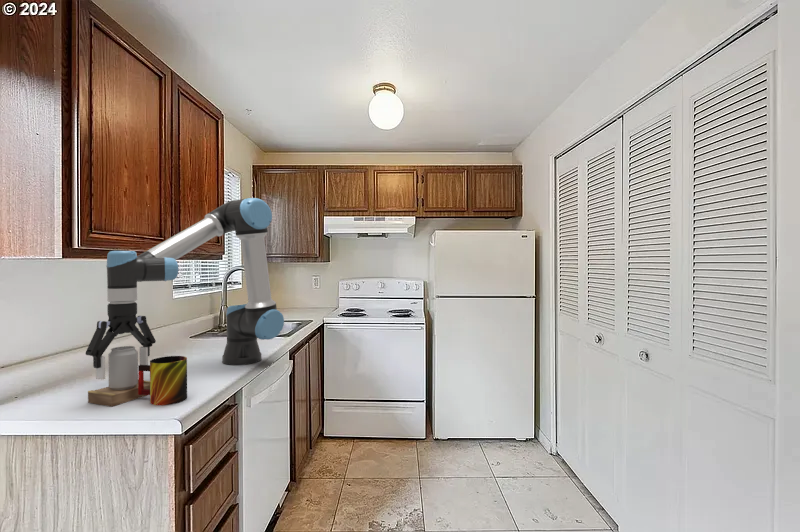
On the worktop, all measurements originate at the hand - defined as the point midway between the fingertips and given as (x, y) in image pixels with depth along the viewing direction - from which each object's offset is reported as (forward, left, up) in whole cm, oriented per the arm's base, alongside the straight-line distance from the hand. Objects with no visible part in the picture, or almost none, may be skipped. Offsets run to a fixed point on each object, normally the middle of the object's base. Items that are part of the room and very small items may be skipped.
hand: (123, 373), depth 131 cm
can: (0, 0, -4) cm, 4 cm away
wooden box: (0, 0, -7) cm, 7 cm away
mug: (-2, +13, -8) cm, 15 cm away
